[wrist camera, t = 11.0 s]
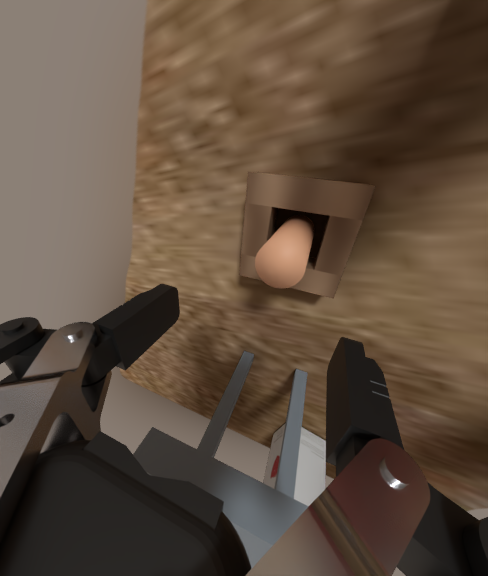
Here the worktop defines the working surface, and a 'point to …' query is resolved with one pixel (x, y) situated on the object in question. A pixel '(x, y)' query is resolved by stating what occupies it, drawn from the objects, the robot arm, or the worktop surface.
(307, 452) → the supplement box
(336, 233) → the socket block
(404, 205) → the worktop surface
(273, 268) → the peg
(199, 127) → the worktop surface
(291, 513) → the grey u-shaped bracket
